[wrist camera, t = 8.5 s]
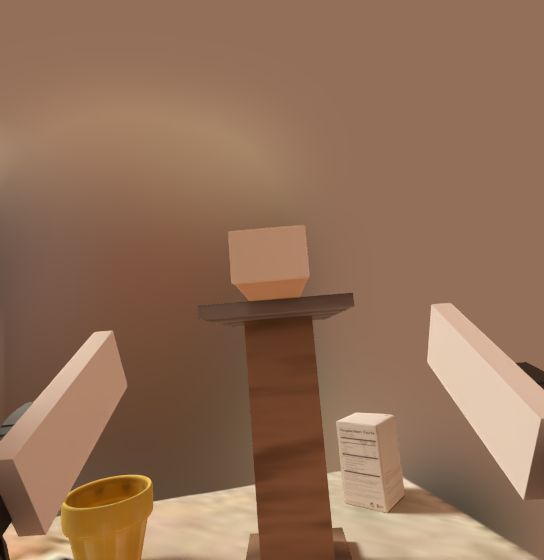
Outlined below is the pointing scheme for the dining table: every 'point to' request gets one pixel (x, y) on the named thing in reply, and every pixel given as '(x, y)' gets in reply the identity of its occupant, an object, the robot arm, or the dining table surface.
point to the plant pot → (108, 518)
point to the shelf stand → (287, 425)
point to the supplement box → (370, 461)
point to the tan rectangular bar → (269, 262)
